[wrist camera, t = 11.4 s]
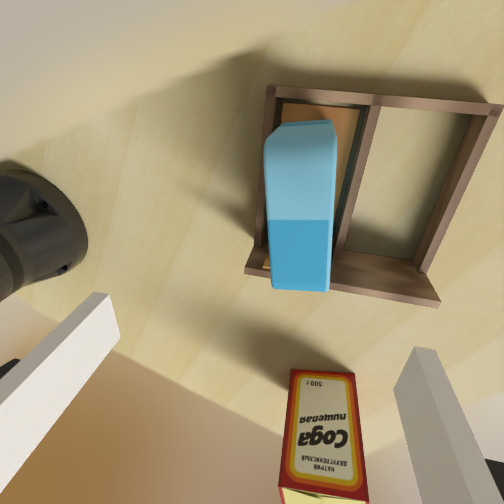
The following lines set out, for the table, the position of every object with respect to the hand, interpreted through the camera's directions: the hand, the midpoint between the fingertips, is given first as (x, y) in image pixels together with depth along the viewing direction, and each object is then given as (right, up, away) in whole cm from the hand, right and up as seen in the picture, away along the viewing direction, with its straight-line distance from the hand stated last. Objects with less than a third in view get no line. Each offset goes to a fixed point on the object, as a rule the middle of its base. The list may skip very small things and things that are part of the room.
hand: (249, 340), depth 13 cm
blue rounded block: (+6, +11, +18) cm, 22 cm away
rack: (+10, +11, +17) cm, 23 cm away
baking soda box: (+11, -17, +33) cm, 39 cm away
